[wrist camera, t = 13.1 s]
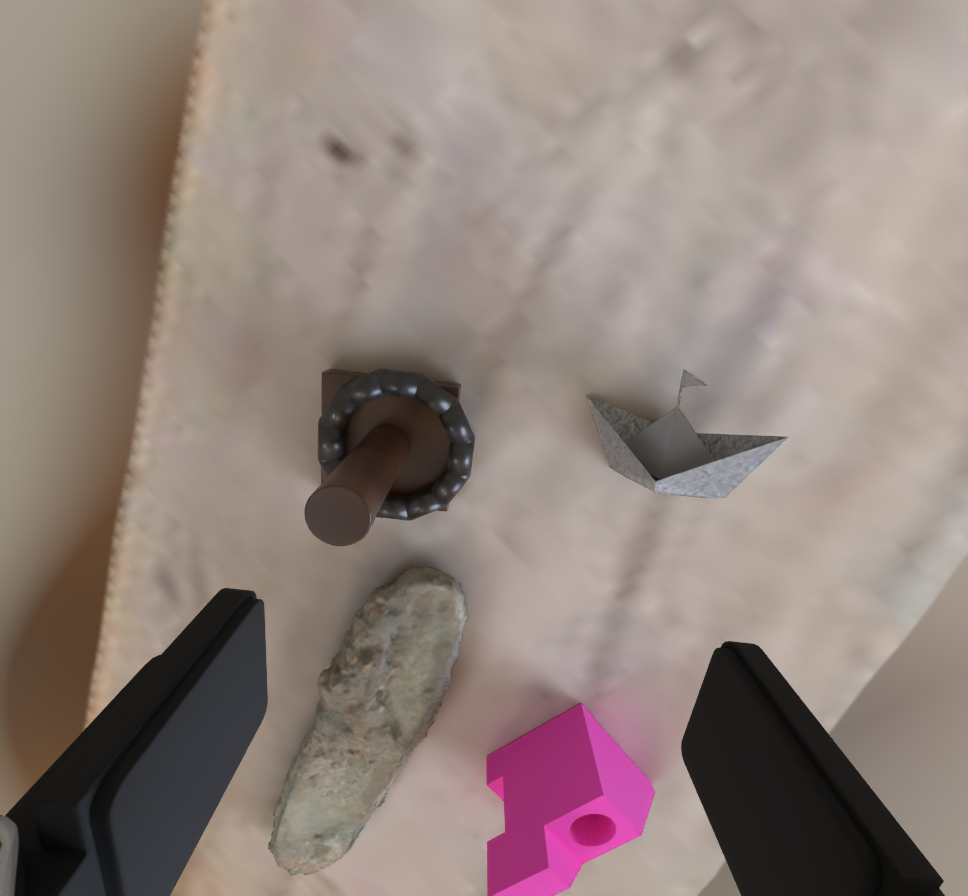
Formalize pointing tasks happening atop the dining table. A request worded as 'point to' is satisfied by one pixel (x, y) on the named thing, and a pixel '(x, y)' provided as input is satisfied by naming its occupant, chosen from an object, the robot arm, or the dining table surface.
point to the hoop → (427, 395)
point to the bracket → (561, 804)
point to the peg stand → (376, 461)
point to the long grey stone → (369, 716)
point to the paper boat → (677, 450)
